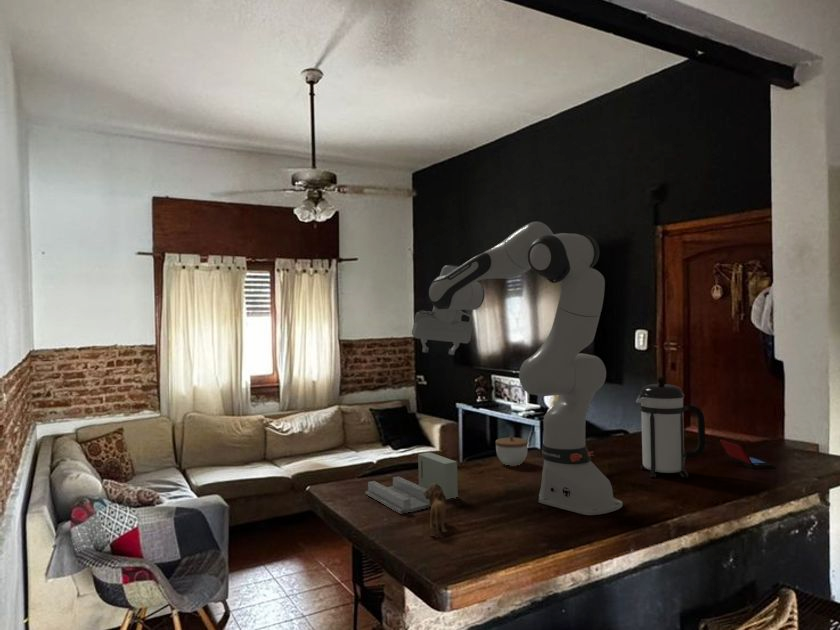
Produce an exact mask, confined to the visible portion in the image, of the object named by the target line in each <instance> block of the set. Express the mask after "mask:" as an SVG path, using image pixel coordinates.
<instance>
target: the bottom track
mask: <svg viewBox="0 0 840 630" xmlns="http://www.w3.org/2000/svg"><path fill="white" fill-rule="evenodd" d="M367 487H368V488H367V490H366V491H364V494H367V495H368V496H370V497H372V498H374V499H375V500H377V501H379V502H381V503H382V504H384V505H386V506H387V507H389V508H391V509H392V511H393V510H394V511H393V512H395V511H396V512H398V513H400V514H402V515H404V514H403V513H406V514H409V513H408V512H411V513H414V511H415V512H418V510H419V511H422V510H421V509H424V510H426V509H425V508H428V509H430V508H429V507H431V506H430V501H429V499H426V497H425V496H424V494H423V492H425V491H426V490H427V489H426V488H423V487H421V486H419V484H416V483H414V482H412V481H409V480H407V479H405V478H404V477H401V476H394V477H392V485H391V486H385V485H384V484H381V483H379V482H377V481H376V480H373V481H368V482H367ZM368 496H367V497H368ZM375 500H374V501H375ZM377 501H376V502H377ZM382 504H381V505H382ZM384 505H383V506H384ZM386 506H385V507H386ZM387 507H386V508H387ZM389 508H388V509H389ZM391 509H390V510H391ZM396 512H395V513H396ZM398 513H397V514H398ZM400 514H399V515H400Z"/></svg>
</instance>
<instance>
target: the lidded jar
mask: <svg viewBox="0 0 840 630" xmlns="http://www.w3.org/2000/svg"><path fill="white" fill-rule="evenodd" d="M528 445H529V443H528V440H527V439H525V438H520V437H514V436H513V435H509V437H501V438H498V439H496V440H495V450H496V456H497V458H498V459H499V461H500V462H501V463H502V464H503V465H504V464H505V465H504V466H506V465H510V466H509V467H517V465H519V466H521V465H522V463H523V462H524V461H525V460H526V458H527V455H528ZM520 464H521V465H520Z"/></svg>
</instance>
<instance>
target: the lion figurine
mask: <svg viewBox="0 0 840 630" xmlns="http://www.w3.org/2000/svg"><path fill="white" fill-rule="evenodd" d="M423 494H424V496H425V497H426V499H429V501H430V506H431V508H430V513H429V524H430V525H429V527H430V533H429V536H430V537H434V536H435V535H436V534H435V529H436V531H437V534H438V537H439V538H443V533H446V532H448V529H447V528H446V527H445V524H446V522H447V521H446V510H447V509H446V505H447V500H446V496H445V495H444V492H443V490H442V489H441V487H440V486H439V485H437V484H435V483H434V484H430V487H429V488H428V489H427V490H426V491H425V492H423ZM438 519H439V521H440V527H441V531H442V532H441V531H440V529H439V524H438V523H439V522H438ZM434 525H435V526H434Z"/></svg>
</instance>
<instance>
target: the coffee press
mask: <svg viewBox="0 0 840 630" xmlns="http://www.w3.org/2000/svg"><path fill="white" fill-rule="evenodd" d="M657 382H658V383H651V384H647V385H645V386H643V387H642V388H641V391H640V392H639V395H638V396H637V398H636V400H635V403H637V404H640V405H639V406H640V407H639V408H640V411H641V446H642V448H641V450H642V451H641V453H642V457H641V458H642V463H640V465H639V469H640V470H642V468H644V470H645V469H647V470H649V478H652V477H654V476H655V478H656V477H657V474H659V473H664V474H665V473H666V474H674V473H677V474H678V475H680V476H681V477H682V478H683V477H684V476H686V477H685V478H688V477H689V473H688V472H687V470H686V468H685V460H686V458H687V459H688V458H696V457H698V456H700V455H702V453H703V452H704V450H705V446H706V426H705V415H704V414H703V412H702V410H701V409H700V408H698V407H696V406H694V405H690V404H687V405H684V397H685V393H683V390H682V388H680V386H677V385H673V384H667V383H666V384H665V382H666V378H665V377H664V376H659V377H658V378H657ZM685 411H688V412H692V413H694V414H695V416H696V418H697V434H698V435H697V437H698V438H697V441H698V442H697V447H696V448H695V450H692V451H685V437H684V436H685V429H684V426H685V425H684V413H685ZM682 471H683V473H682ZM684 474H685V475H684ZM685 478H684V479H685Z"/></svg>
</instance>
